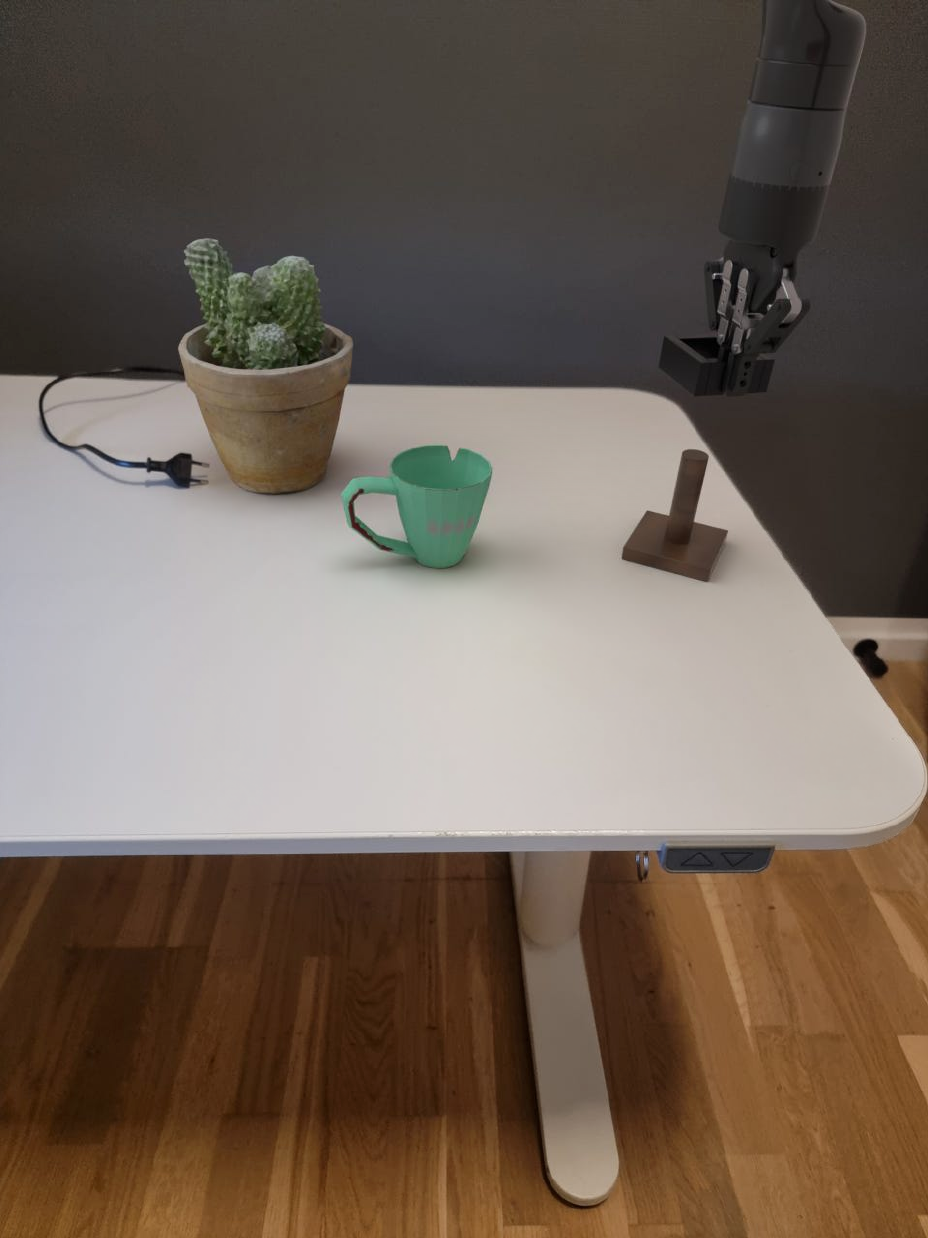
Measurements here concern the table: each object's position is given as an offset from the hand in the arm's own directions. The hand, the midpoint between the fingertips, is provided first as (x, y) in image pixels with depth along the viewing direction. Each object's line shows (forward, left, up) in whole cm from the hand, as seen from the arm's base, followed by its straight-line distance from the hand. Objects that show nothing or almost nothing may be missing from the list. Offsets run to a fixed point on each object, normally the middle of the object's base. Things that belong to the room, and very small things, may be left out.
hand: (728, 390), depth 76 cm
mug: (+25, +11, -20) cm, 34 cm away
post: (+2, -4, -19) cm, 20 cm away
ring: (+2, -2, 0) cm, 3 cm away
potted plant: (+48, +2, -20) cm, 52 cm away
